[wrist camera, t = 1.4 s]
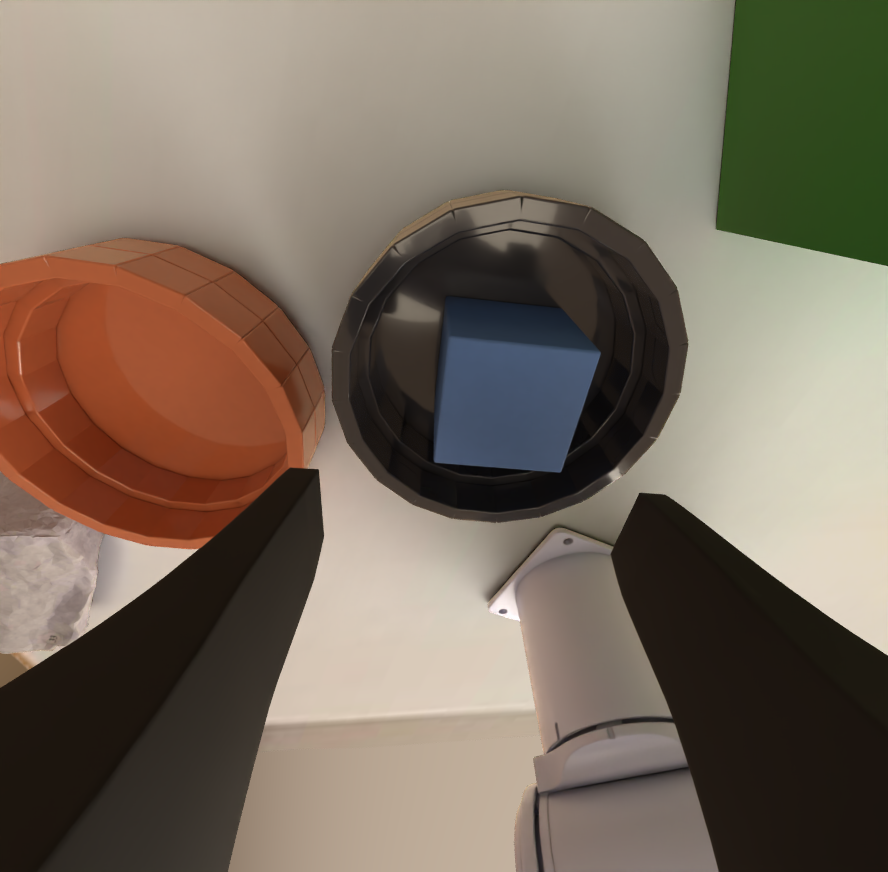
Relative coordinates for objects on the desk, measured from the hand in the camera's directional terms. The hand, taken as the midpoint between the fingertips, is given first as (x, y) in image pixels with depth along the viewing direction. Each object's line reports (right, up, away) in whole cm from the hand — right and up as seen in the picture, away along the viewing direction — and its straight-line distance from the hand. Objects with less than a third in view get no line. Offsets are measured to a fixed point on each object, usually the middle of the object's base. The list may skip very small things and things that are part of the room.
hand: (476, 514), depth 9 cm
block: (+1, +5, +7) cm, 9 cm away
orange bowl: (-12, +4, +8) cm, 15 cm away
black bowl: (+1, +5, +8) cm, 9 cm away
